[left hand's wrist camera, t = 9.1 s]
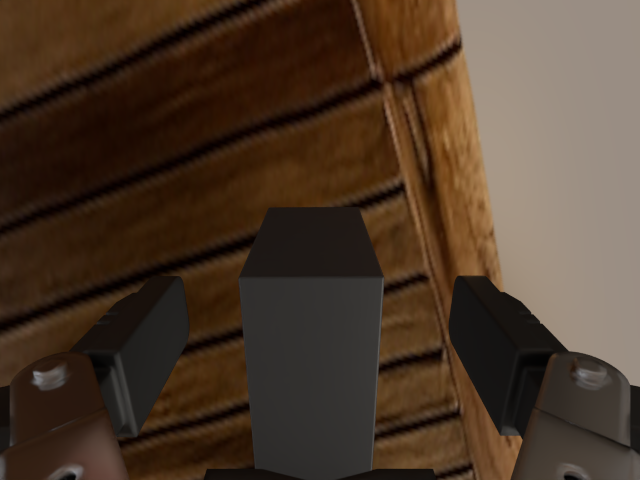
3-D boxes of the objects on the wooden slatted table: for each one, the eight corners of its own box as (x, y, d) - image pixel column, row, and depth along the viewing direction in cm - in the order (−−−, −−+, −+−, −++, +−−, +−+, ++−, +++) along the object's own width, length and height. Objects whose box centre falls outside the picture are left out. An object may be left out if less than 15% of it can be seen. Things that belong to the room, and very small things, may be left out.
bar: (268, 207, 23) (238, 277, 14) (358, 206, 23) (384, 276, 14) (282, 480, 31) (269, 632, 22) (349, 479, 31) (362, 632, 22)
